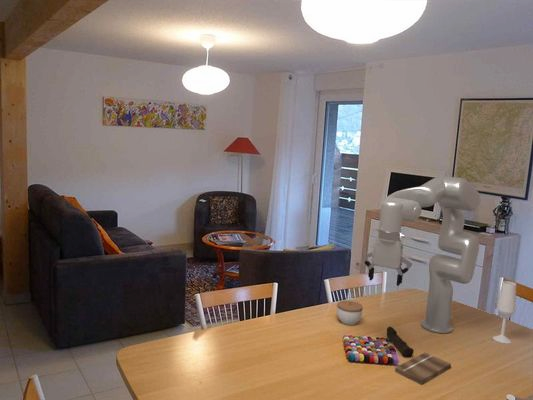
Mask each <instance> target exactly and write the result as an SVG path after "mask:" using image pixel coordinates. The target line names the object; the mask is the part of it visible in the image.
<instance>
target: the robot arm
mask: <svg viewBox="0 0 533 400" xmlns="http://www.w3.org/2000/svg"><path fill="white" fill-rule="evenodd" d="M436 203H438V205H439V207H440V209H441V212H442V221H441V226H440V231H439V235H438V241H437V246H438V249H439V250H440V251H442V252H446V253H450V254H454V255H457V256H460V257H461V258H458V257H454V256H451V255H446V254H442V253H440V254H439V253H438V254H434V255H432V256H431V258H430V259H429V261H428V273H429V282H428V283H429V284H428V291H427V292H428V293H427V301H426V302H427V304H426V311H425V319H422V320H421V322H420V325H421V327H422V328H423V329H425V330H427V331H429V332H432V333H437V334H449V333H451V332H452V331H453V328H454V327H453V326H452V325H451V324H450V321H451V320H453V319H454V317H453V315H451V311H452V302H453V295H454V294H453V293H454V287H453V283H452V282H456V283H459V284H463V285H465V284H466V285H467V284H469V283H471V281H472V279H473V277H474V273H475V269H476V264H477V260H478V257H479V251H480V241H479V238H478V236H476V235H475V234H472V233H468V232H464V226H465V222H466V221H465V220H466V219H465V217H464V213H463V212H462V211H465V212H466V211H467V212H474V211H476V210H478V208H479V207H480V204H481V194H480V193H479V191H478V190H477V189H476V188H475V187H474V186H473V185H472V184H471V183H470V182H469V181H468V180H467V179H465V178H463V177H455V176H448V175H447V176H446V175H439V176H435V177H434V178H432V179H430V180H428V181H427V182H425V183H424V184H422V185H420V186H414V187H410V188H409V187H408V188H404V189H401V190H397V191H395V192H393V193H391V194H388V196H386V197H385V198H384V199H383V201H382V202H381V205H380V212H379V213H380V214H379V226H378V236H377V237H376V238H375V241H374V245H373V249H372V252H368V253H366V254H363V255H362V260H363V262H364V264H365V266H366V267H367V269H368V275H367V277H368V278H369V281H370V282H371V281H373V280H374V274H375V266H376V267H382V268H387V269H393V270H396V272H397V273H398V274H397V276H396V277H397V278H396V286H397V287H399V286H400V285H401V284H402V283H403V276H404V274H406V273H407V272H408V271H409V270H410V269H411V267H412V265H413V263H412V262H411V261H409V260H407V259H406V258H405V257H403V255H404V244H403V242H404V241H403V240H402V239H406V238H405V237H406V235H405V234H404V233H402V225H403V224H402V223H403V221H405V222H415V221H416V220H418V219H420V216H421V215H422V208H428V207H429V208H430V207H432V206H434V205H435V204H436ZM370 257H371V262H370V261H369V258H370ZM403 264H404V265H405V267H404V268H403V267H402V266H403Z"/></svg>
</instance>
